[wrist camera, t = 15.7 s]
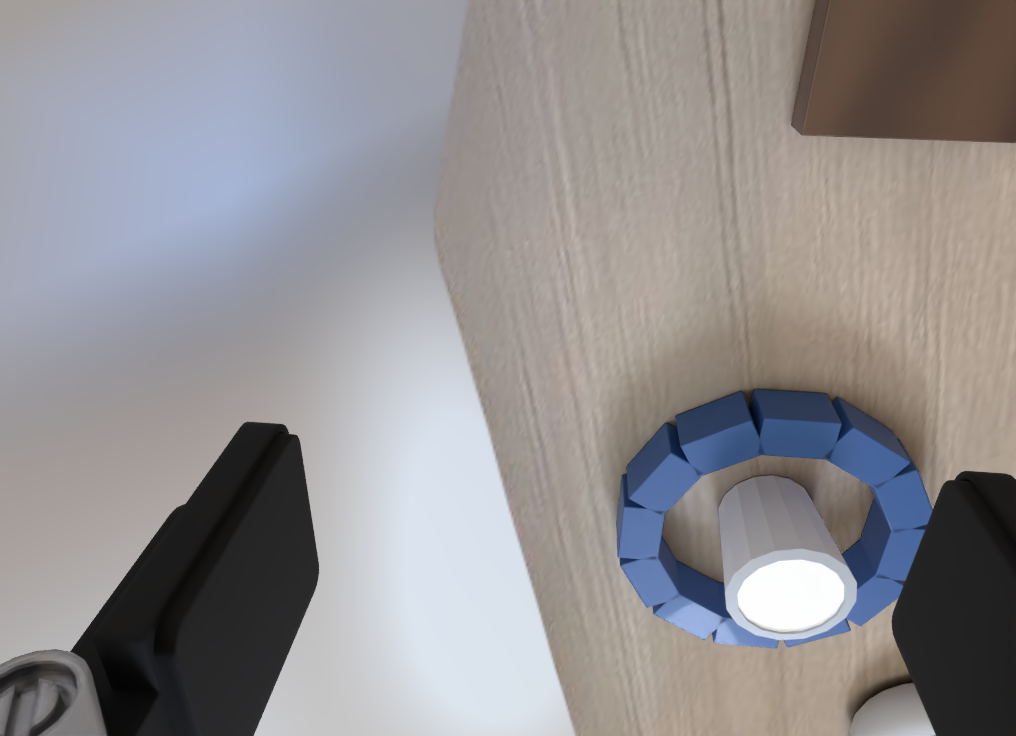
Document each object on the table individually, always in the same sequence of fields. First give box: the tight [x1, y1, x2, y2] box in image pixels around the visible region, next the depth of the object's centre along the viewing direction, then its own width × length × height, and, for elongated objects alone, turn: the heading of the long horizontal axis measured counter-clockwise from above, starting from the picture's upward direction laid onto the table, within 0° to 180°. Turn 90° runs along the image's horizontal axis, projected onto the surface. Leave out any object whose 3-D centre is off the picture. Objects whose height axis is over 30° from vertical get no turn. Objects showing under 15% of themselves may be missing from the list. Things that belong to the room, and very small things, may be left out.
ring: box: [616, 389, 933, 648], centre depth 45 cm, size 17×17×3 cm
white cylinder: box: [718, 475, 857, 640], centre depth 43 cm, size 7×7×7 cm
